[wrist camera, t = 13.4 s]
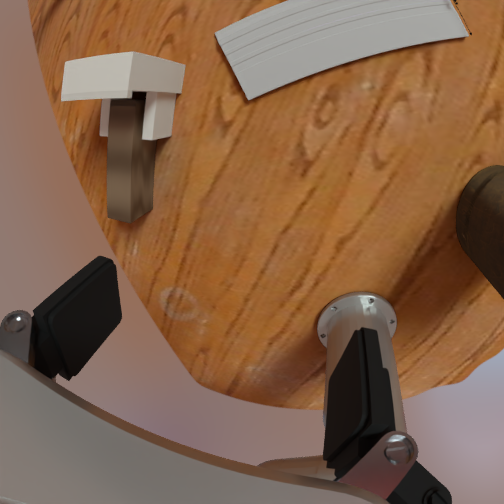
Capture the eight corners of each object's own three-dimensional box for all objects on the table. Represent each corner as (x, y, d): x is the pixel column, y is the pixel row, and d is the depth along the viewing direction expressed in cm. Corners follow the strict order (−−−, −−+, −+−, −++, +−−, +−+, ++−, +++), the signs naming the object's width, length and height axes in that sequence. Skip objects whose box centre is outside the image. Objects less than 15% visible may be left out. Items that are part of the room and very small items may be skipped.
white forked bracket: (175, 136, 36) (122, 149, 26) (117, 131, 37) (59, 144, 27) (185, 65, 31) (133, 51, 21) (124, 66, 33) (65, 61, 22)
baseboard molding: (212, 26, 29) (251, 101, 33) (204, 21, 26) (245, 100, 30) (422, -35, 18) (464, 38, 22) (428, -43, 15) (474, 34, 19)
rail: (152, 208, 42) (130, 223, 36) (130, 204, 42) (107, 217, 37) (160, 100, 34) (136, 100, 29) (136, 99, 35) (110, 100, 29)
